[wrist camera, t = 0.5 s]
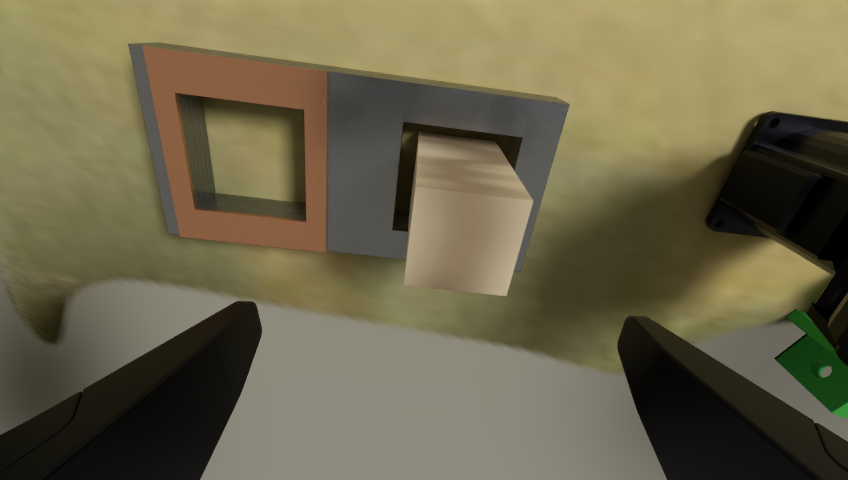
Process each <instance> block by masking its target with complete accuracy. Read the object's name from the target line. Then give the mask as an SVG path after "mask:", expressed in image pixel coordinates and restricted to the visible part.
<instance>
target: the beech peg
mask: <svg viewBox="0 0 848 480" xmlns="http://www.w3.org/2000/svg"><path fill="white" fill-rule="evenodd" d="M532 204H533V200H532V198H531V196H530V195H529V193H528V192H527V190H526V189H525V187H524V185H523V184H522V182H521V181H520V179H519V178H518V176H517V174H516V173H515V171H514V170H513V168H512V167H511V165H510V163H509V162H508V160H507V159H506V157H505V156H504V154H503V152H502V151H501V149H500V148H499V146H498V145H497V143H496V142H495V141H490V140H482V139H474V138H467V137H459V136H451V135H444V134H436V133H428V132H420V131H419V134H418V143H417V151H416V159H415V168H414V176H413V184H412V193H411V201H410V212H409V224H408V236H407V248H406V260H405V272H404V283H403V285H405V286H414V287H424V288H433V289H443V290H452V291H462V292H471V293H481V294H490V295H499V296H507V292H508V289H509V285H510V282H511V278H512V275H513V271H514V268H515V264H516V261H517V257H518V254H519V250H520V247H521V243H522V239H523V236H524V232H525V229H526V225H527V222H528V218H529V215H530V211H531V208H532Z"/></svg>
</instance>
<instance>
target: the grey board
mask: <svg viewBox="0 0 848 480" xmlns="http://www.w3.org/2000/svg"><path fill="white" fill-rule="evenodd" d="M128 46H129V50H130V55H131V60H132V64H133V69H134V74H135V78H136V83H137V88H138V92H139V97H140V102H141V107H142V111H143V116H144V121H145V125H146V130H147V135H148V139H149V144H150V149H151V154H152V158H153V163H154V168H155V172H156V177H157V182H158V186H159V191H160V196H161V200H162V205H163V210H164V215H165V219H166V224H167V229H168V233H170V234H179V235H180V237H188V238H197V239H206V240H215V241H224V242H233V243H242V244H251V245H260V246H269V247H278V248H288V249H297V250H306V251H315V252H324V253H326V251H333V252H342V253H351V254H360V255H369V256H378V257H387V258H396V259H405V260H406V248H407V236H408V224H409V216H405V215H397V214H395V207H396V197H397V187H398V177H399V167H400V157H401V147H402V137H403V128H404V122H409V123H417V124H425V125H432V126H440V127H447V128H455V129H463V130H470V131H478V132H486V133H493V134H501V135H509V136H512V139H511V144H510V148H509V152H508V156H507V160H508V162H509V163H510V165H511V167H512V168H513V170H514V171H515V173H516V174H517V176H518V178H519V179H520V181H521V182H522V184H523V185H524V187H525V189H526V190H527V192H528V193H529V195H530V196H531V198H532V200H533V204H532V208H531V211H530V215H529V218H528V222H527V225H526V229H525V232H524V236H523V239H522V243H521V247H520V250H519V254H518V257H517V261H516V264H515V268H514V272H520V271H521V268H522V265H523V261H524V258H525V254H526V251H527V248H528V244H529V241H530V237H531V234H532V231H533V227H534V224H535V220H536V217H537V214H538V210H539V207H540V203H541V200H542V197H543V193H544V190H545V186H546V183H547V180H548V176H549V173H550V169H551V166H552V163H553V159H554V156H555V152H556V149H557V146H558V142H559V139H560V135H561V132H562V129H563V125H564V122H565V118H566V115H567V112H568V108H569V105H570V104H568V103H566V102H564V101H562V100H560V99H558V98H556V97H550V96H542V95H535V94H528V93H521V92H513V91H506V90H499V89H492V88H484V87H477V86H470V85H463V84H455V83H448V82H441V81H434V80H426V79H419V78H412V77H404V76H397V75H390V74H383V73H375V72H368V71H361V70H354V69H346V68H339V67H332V66H325V65H317V64H310V63H303V62H296V61H288V60H281V59H274V58H267V57H259V56H252V55H245V54H237V53H230V52H223V51H216V50H208V49H201V48H194V47H187V46H179V45H172V44H165V43H158V42H157V43H134V44H128ZM202 96H203V97H211V98H219V99H226V100H234V101H241V102H249V103H257V104H264V105H272V106H280V107H287V108H295V109H303V110H304V127H305V176H306V204H303V203H294V202H286V201H277V200H268V199H260V198H251V197H243V196H234V195H226V194H217V193H215V187H214V180H213V173H212V165H211V158H210V151H209V144H208V137H207V130H206V122H205V115H204V108H203V101H202Z"/></svg>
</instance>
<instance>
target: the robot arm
mask: <svg viewBox="0 0 848 480" xmlns="http://www.w3.org/2000/svg"><path fill="white" fill-rule="evenodd" d="M772 119H774V121H773V123H772V124H771V125H770V126H769V123H770V121H771V120H772ZM719 219H720V220H719ZM717 220H719V222H718V223H716V224H715V222H716V221H717ZM706 226H707V227H708V228H710V229H711V230H713V231H718V232H726V233H734V234H743V235H751V236H759V237H768V238H771V239H773V240H775V241H776V242H778V243H780V244H781V245H783V246H785V247H786V248H788V249H790V250H791V251H793V252H795V253H796V254H798V255H800V256H801V257H803V258H805V259H806V260H808V261H810V262H811V263H813V264H815V265H816V266H818V267H820V268H821V269H823V270H825V271H826V272H828V273H830V274H831V275H833V276H832V278H831V279H830V281H829V283H828V284H827V286H826V287H825V289H824V290H823V292H822V293H821V295H820V296H819V298H818V299H817V301H816V302H814V303H811V305H810V307H809V308H808V310H807V311H806V314H807V315H808V317H809V318H810V319H811V320H812V322H813V323H814V324H815V325H816V327H817V328H818V329H819V330H820V332H821V333H822V334H823V335H824V337H825V338H826V339H827V340H828V342H829V343H830V344H831V345H832V347H833V348H834V349H835V353H836V354H837V356H838V357H839V359H840V360H841V361H842V362H843V363H844V364H845V365H846V366H848V122H847V121H839V120H832V119H825V118H818V117H811V116H804V115H797V114H790V113H782V112H775V111H771V112H767V113H765V114H764V115H763V116H761V118H760V119H759V121H758V123H757V124H756V126H755V128H754V130H753V132H752V134H751V136H750V138H749V140H748V142H747V143H746V145H745V147H744V149H743V151H742V153H741V155H740V157H739V159H738V161H737V162H736V164H735V166H734V168H733V170H732V172H731V174H730V176H729V178H728V179H727V181H726V183H725V185H724V187H723V189H722V191H721V193H720V195H719V197H718V198H717V200H716V202H715V204H714V206H713V208H712V210H711V212H710V214H709V215H708V217H707V219H706ZM261 334H262V327H261V322H260V318H259V314H258V309H257V306H256V304H255V303H254V302H252V301H237V302H235V303H233V304H231V305H229V306H228V307H226V308H224V309H222V310H221V311H219V312H217V313H215V314H214V315H212V316H210V317H208V318H207V319H205V320H203V321H202V322H200V323H198V324H196V325H195V326H193V327H191V328H189V329H188V330H186V331H184V332H182V333H181V334H179V335H177V336H175V337H174V338H172V339H170V340H168V341H167V342H165V343H163V344H161V345H160V346H158V347H156V348H154V349H153V350H151V351H149V352H147V353H146V354H144V355H142V356H141V357H139V358H137V359H135V360H133V361H132V362H130V363H128V364H127V365H125V366H123V367H121V368H120V369H118V370H116V371H114V372H113V373H111V374H109V375H107V376H106V377H104V378H102V379H100V380H99V381H97V382H95V383H93V384H92V385H90V386H88V387H86V388H85V389H84V390H83V392H78V393H76V394H74V395H73V396H71V397H69V398H68V399H66V400H64V401H62V402H60V403H59V404H57V405H55V406H53V407H51V408H50V409H48V410H46V411H44V412H42V413H41V414H39V415H37V416H35V417H33V418H32V419H30V420H28V421H26V422H24V423H23V424H21V425H19V426H17V427H15V428H13V429H11V430H9V431H7V432H5V433H3V434H2V435H0V480H200V479H201V476H202V474H203V472H204V470H205V468H206V466H207V464H208V462H209V460H210V458H211V456H212V453H213V451H214V449H215V447H216V445H217V443H218V441H219V439H220V437H221V435H222V433H223V430H224V428H225V426H226V424H227V422H228V420H229V418H230V416H231V414H232V412H233V410H234V407H235V405H236V403H237V401H238V399H239V397H240V394H241V392H242V389H243V387H244V384H245V381H246V378H247V375H248V373H249V370H250V367H251V364H252V361H253V358H254V355H255V353H256V350H257V347H258V344H259V341H260V338H261ZM618 353H619V356H620V359H621V362H622V365H623V368H624V372H625V375H626V378H627V381H628V384H629V388H630V391H631V394H632V397H633V400H634V403H635V406H636V409H637V411H638V414H639V416H640V419H641V421H642V423H643V426H644V428H645V430H646V433H647V435H648V437H649V439H650V442H651V444H652V446H653V449H654V451H655V453H656V455H657V458H658V460H659V462H660V465H661V467H662V469H663V471H664V474H665V476H666V478H667V480H848V442H847V441H846V440H844V439H842V438H841V437H839V436H838V435H836V434H834V433H833V432H831V431H829V430H828V429H826V428H825V427H823V426H822V425H820V424H818V423H814V421H813V420H812V419H810V418H809V417H807V416H805V415H804V414H802V413H801V412H799V411H797V410H796V409H794V408H793V407H791V406H789V405H788V404H786V403H785V402H783V401H781V400H780V399H778V398H777V397H775V396H773V395H772V394H770V393H769V392H767V391H765V390H764V389H762V388H760V387H759V386H757V385H756V384H754V383H752V382H751V381H749V380H748V379H746V378H744V377H743V376H741V375H740V374H738V373H736V372H735V371H733V370H731V369H730V368H728V367H727V366H725V365H724V364H722V363H720V362H719V361H717V360H715V359H714V358H712V357H711V356H709V355H707V354H706V353H704V352H702V351H701V350H699V349H698V348H696V347H695V346H693V345H691V344H690V343H688V342H687V341H685V340H683V339H682V338H680V337H679V336H677V335H675V334H674V333H672V332H671V331H669V330H667V329H666V328H664V327H662V326H661V325H659V324H658V323H656V322H654V321H653V320H651V319H650V318H648V317H645V316H629V317H627V318H626V320H625V322H624V325H623V328H622V331H621V334H620V337H619V340H618Z"/></svg>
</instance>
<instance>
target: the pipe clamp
mask: <svg viewBox="0 0 848 480" xmlns="http://www.w3.org/2000/svg"><path fill="white" fill-rule="evenodd" d="M786 318H788V319H789V320H790V321H791V322H793V323H794V324H795V325H796V326H798V327H799V328H800V329H801V330H803V331H804V332H805V333H806V334H805V335H803V336H802V337H801V338H800V339H798V340H797V341H796V342H794V343H793V344H792V345H791V346H789V347H788V348H787V349H785V350H784V351H783V352H781V353H780V354H779V355H778V356H776V357H775V358H774V359H775V360H777V362H778V363H780V364H781V365H782V366H783V367H784V368H785V369H786V370H787V371H788V372H789V373H790V374H791V375H792V376H793V377H795V379H797V380H798V381H799V382H800V383H801V384H802V385H803V386H804V387H805V388H806V389H807V390H808V391H809V392H810V393H812V395H814V396H815V397H816V398H817V399H818V400H819V401H820V402H821V403H822V404H823V405H824V406H825V407H826V408H827V409H829V410H830V411H831V412H832V413H834V414H836V415H838V416H840V417H842V418H845V417H847V416H848V366H846V365H845V364H844V363H843V362H842V361H841V360H840V359H839V357H838V356H837V354H836V353H835V349H834V348H833V347H832V345H831V344H830V343H829V342H828V340H827V339H826V338H825V337H824V335H823V334H822V333H821V332H820V330H819V329H818V328H817V327H816V325H815V324H814V323H813V322H812V320H811V319H810V318H809V317H808V315H807V314H806V312H802V311H798V310H794V311H793V312H792V313H791V314H790V315H788V316H787V317H786ZM828 366H831V367H832V373H831V374H830V375H829V376H828V377H825V378H822V375H821V373H822V370H823V369H824V368H826V367H828Z"/></svg>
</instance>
